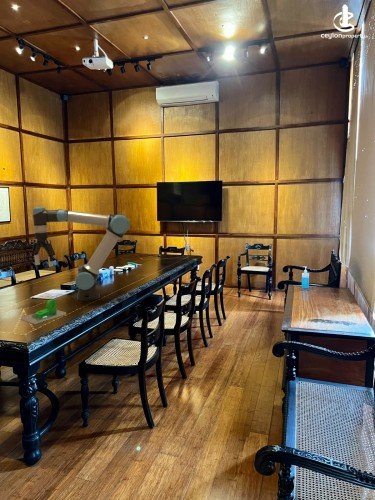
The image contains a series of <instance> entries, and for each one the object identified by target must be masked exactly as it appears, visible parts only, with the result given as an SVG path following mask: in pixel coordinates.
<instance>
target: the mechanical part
mask: <svg viewBox="0 0 375 500" xmlns="http://www.w3.org/2000/svg"><path fill="white" fill-rule="evenodd" d="M57 310H58V308H57V301H56V300H54V299H49V300H48V301H47V302H46V308H44V309H41V310H39V311H36V312H35V313H34V314H35V317H37V318H42V317H45V316H47V315H50V314H53V313H55V312H57Z"/></svg>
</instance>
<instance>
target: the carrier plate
mask: <svg viewBox="0 0 375 500" xmlns="http://www.w3.org/2000/svg"><path fill="white" fill-rule="evenodd" d="M65 315H67V312H65V311H62V310H59V309H57V312H55V313H53V314H50V315H47V316H45V317H42V318H37V317H35V313H31V314H28V315H26V316H22V317H20V319H21V320H22V321H25V322H27V323H30V324H33V325H37V324H39V323H42V322H43V321H44V322H46V320H47V321H50V320H52V319H55V318H60V317H62V316H65Z"/></svg>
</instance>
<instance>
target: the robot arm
mask: <svg viewBox="0 0 375 500" xmlns="http://www.w3.org/2000/svg"><path fill="white" fill-rule="evenodd" d="M32 219H33V220H32V221H33V231H34V239H32V240H33V244H32V249H31V254H32V255H33V257H34V264H35V266H40V265H41V263H40V255H39V252H40V250H41V248H43V249H44V251H45V252H46V254H47V255H48V256H47V259H48V267H49V268H51V267H54V256H55V255H56V252H55V250H54V248H53V245H52V242H51V241H52V240H51V239H48V238H49V233H48V223H63V222H64V223H65V222H66V223H67V222H68V223H73V224H74V223H76V224H84V225H90V226H98V227H106V229H105V231H106V233H105V235H104V236H103V238H102V240H101V241H100V242H99V244H98V246H97V247H96V249H95V251H94V252H93V254H92V255H91V257H90V259H89V261H88V262H87V263H86V264H83V265H79V266H77V272H78V273H77V275H76V276H75V278H74V279H75V280H74V283H75V285H76V287H78V291H77V294H76V300H78V301H80V302H90V301H91V302H92V301H95V300H99V299H100V298H101V296H100V293H99V289H98V286H97V279H98V277H99V276H100V270H101V268H102V266H103V265H104V263H105V261H106V260H107V258H108V257H109V255H110V254H111V252H112V250H113V249H114V247H115V245H116V244H117V243H118V241H120V240H121V239H123V237H124V236H125V234H126V233H127V232H128V230H129V229H130V223H131V221H130V220H129V218H128V217H127V216H126V215H125V214H110V213H108V214H98V213H90V212H84V211H75V210H66V209H61V208H58V209H49V210H48V209H46V207H45V206H42V207H41V206H40V207H33V208H32Z"/></svg>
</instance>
